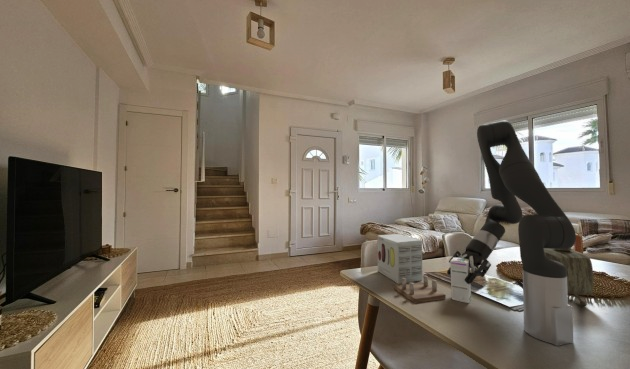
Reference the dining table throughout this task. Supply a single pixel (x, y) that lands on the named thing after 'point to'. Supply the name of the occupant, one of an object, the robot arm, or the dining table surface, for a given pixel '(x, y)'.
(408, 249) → the supplement box
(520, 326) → the dining table surface
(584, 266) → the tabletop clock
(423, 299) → the pin tray
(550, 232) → the robot arm
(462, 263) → the syrup box
